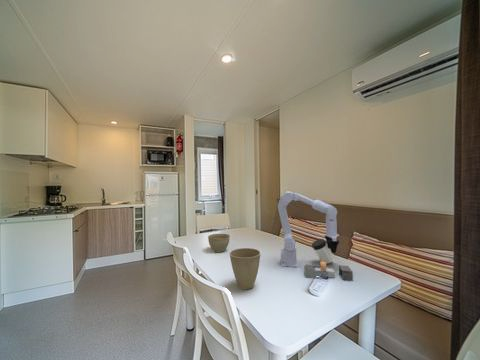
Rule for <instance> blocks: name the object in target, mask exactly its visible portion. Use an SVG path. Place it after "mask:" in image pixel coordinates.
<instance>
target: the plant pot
mask: <svg viewBox="0 0 480 360" xmlns="http://www.w3.org/2000/svg"><path fill="white" fill-rule="evenodd" d="M229 258H230V264H231V268H232V271H233V275H234V278H235V281H236V283H237V286H238V288H239V289H241V290H251V289H252V288H254V286H255V283H256V280H257V275H258V273H259V268H260V262H261V261H260V260H261V251H260V250H259V249H256V248H252V247H251V248H250V247H242V248H235V249H233V250H231V251H230V252H229Z"/></svg>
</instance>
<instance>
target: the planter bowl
mask: <svg viewBox="0 0 480 360" xmlns="http://www.w3.org/2000/svg"><path fill="white" fill-rule="evenodd" d="M230 237H231V236H230V235H229V234H227V233H212V234H209V235H208V236H207V238H208V239H207V241H208V244H209V246H210V248H211V249H212V252H213V251H215V252H214V253H223V252H222V251H224V252H225V251H226V250H227V248H228V246H229V243H230Z"/></svg>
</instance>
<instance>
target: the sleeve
mask: <svg viewBox="0 0 480 360" xmlns="http://www.w3.org/2000/svg"><path fill="white" fill-rule="evenodd" d="M315 268H321V267H320V265H314V264H309V263H308V264H304V265H303V272H304V277H305V278H307V279H308V278H309V279H316V278H315V277H316V276H320V275H322V274H323V275H328V271H316V270H315Z"/></svg>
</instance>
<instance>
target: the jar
mask: <svg viewBox="0 0 480 360" xmlns="http://www.w3.org/2000/svg"><path fill="white" fill-rule="evenodd" d="M311 247H312V249H313V251H314V252H315V254H316V256H317V258H318V259H319V262H321V261H324V262H326V264H330V263H332V262H333V260H334V259H335V258H336V257H335V255H334V253H331V249H329V248H328V245H327V241H325V240H324V238H319V239H316V240H315V241H314V242H312V243H311Z"/></svg>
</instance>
